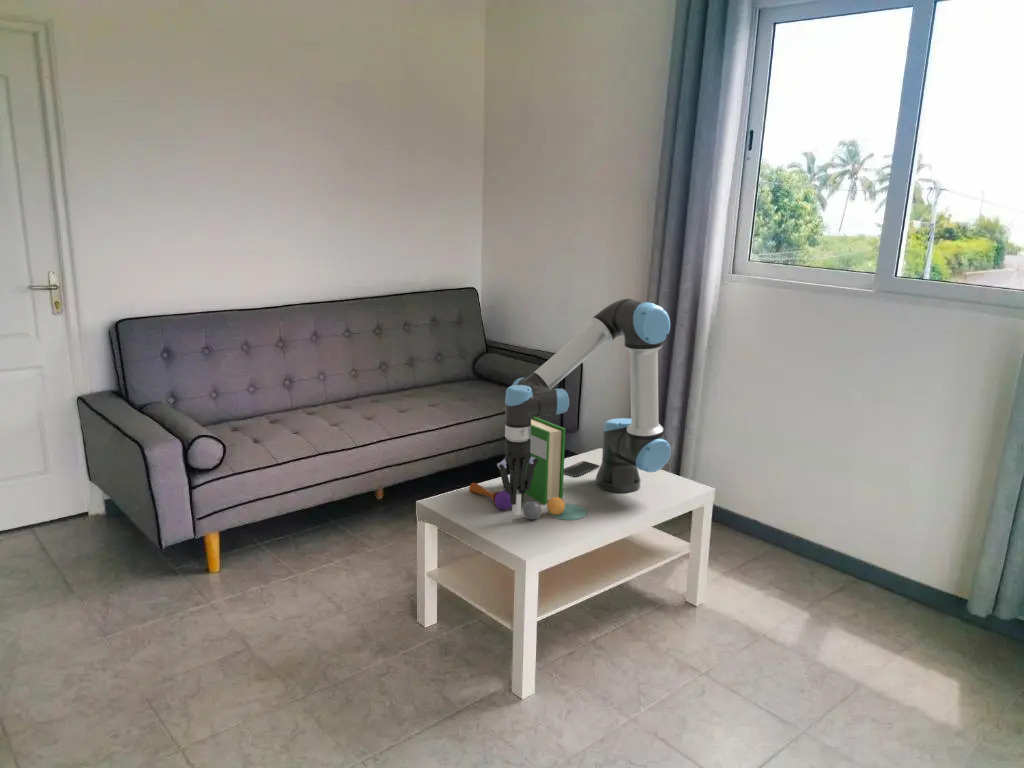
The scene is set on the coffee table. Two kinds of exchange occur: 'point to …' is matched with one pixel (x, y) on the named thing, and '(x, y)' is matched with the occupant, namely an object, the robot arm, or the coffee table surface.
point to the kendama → (493, 496)
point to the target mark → (571, 512)
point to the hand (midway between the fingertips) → (516, 513)
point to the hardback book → (547, 460)
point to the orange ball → (555, 505)
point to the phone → (580, 469)
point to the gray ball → (532, 510)
